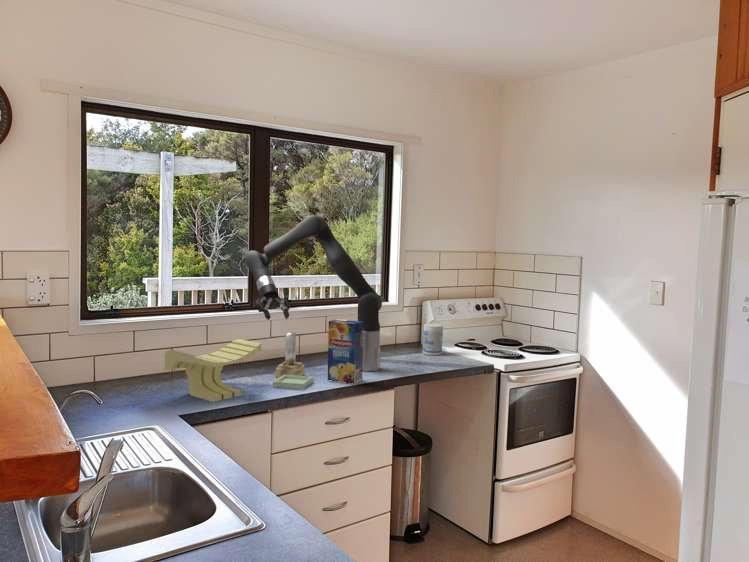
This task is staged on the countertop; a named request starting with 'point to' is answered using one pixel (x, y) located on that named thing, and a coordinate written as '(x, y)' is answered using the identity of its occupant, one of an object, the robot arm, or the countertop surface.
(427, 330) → the supplement tub
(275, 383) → the tray
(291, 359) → the translucent grey cylinder
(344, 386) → the countertop surface
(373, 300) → the robot arm
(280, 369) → the bracket block
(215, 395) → the slatted curved stool
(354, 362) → the juice carton
